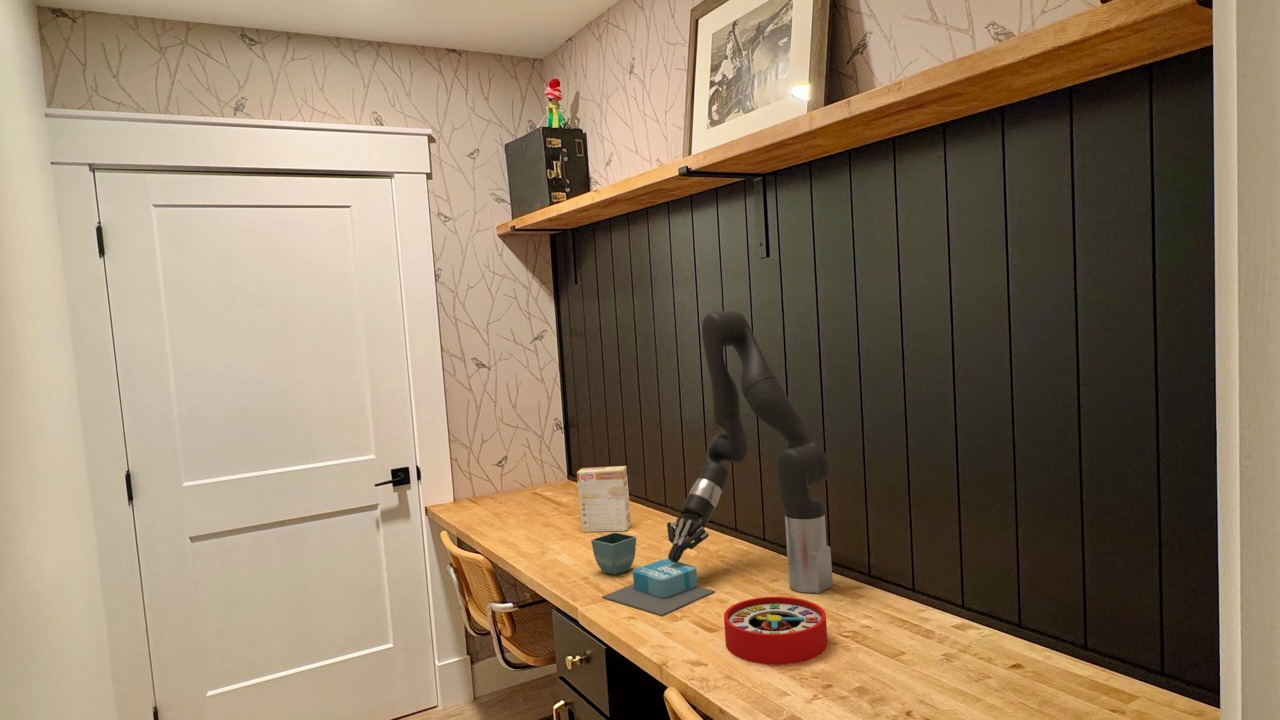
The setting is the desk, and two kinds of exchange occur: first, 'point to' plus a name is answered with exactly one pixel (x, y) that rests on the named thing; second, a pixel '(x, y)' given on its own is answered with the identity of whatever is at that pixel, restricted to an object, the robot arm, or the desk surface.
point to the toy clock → (775, 630)
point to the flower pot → (614, 552)
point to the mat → (657, 599)
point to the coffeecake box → (604, 499)
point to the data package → (665, 578)
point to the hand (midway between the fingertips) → (672, 560)
